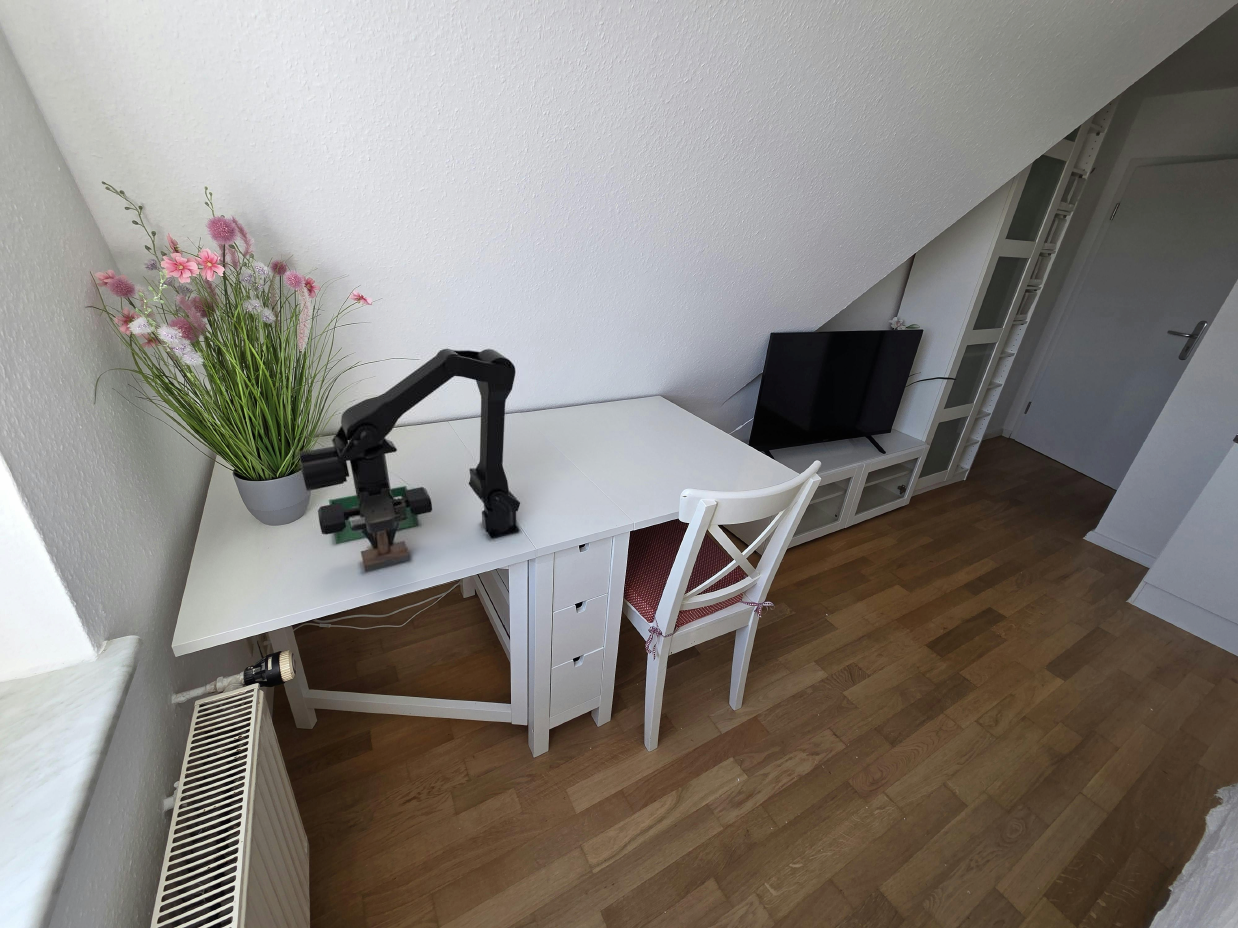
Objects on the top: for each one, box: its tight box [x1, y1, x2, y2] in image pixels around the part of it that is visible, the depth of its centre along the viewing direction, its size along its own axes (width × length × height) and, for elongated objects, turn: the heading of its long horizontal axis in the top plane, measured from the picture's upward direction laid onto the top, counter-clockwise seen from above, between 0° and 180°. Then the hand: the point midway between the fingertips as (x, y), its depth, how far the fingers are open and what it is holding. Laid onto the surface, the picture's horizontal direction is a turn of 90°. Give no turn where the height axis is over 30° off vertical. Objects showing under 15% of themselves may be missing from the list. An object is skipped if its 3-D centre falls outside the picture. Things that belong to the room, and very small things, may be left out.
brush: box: [360, 530, 410, 573], centre depth 99 cm, size 8×3×8 cm, turn 120°
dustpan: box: [328, 485, 419, 544], centre depth 116 cm, size 22×16×3 cm
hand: (383, 545), depth 99 cm, fingers closed on brush, 2 cm apart
